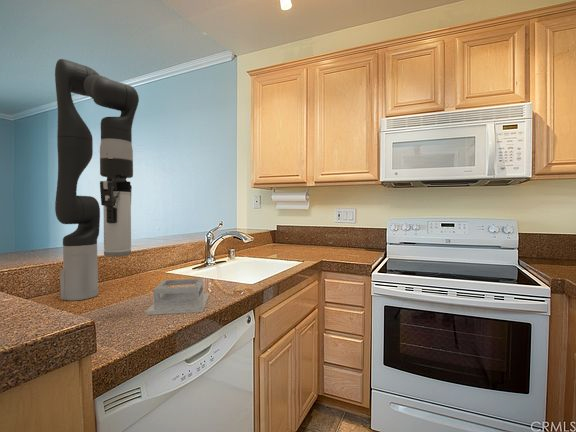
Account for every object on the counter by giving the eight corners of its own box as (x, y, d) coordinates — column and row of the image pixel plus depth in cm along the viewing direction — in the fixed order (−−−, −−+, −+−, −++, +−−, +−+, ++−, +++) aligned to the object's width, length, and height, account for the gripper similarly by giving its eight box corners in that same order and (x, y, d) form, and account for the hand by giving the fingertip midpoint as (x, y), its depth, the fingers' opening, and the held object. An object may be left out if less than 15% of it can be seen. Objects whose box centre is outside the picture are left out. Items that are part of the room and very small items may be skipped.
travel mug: (136, 253, 82) (135, 180, 81) (123, 256, 75) (123, 178, 75) (113, 253, 82) (112, 180, 81) (98, 256, 75) (97, 178, 74)
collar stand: (145, 315, 80) (145, 291, 80) (160, 298, 95) (160, 278, 95) (202, 311, 82) (202, 288, 82) (208, 296, 97) (208, 276, 97)
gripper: (113, 162, 84) (113, 221, 84) (86, 153, 70) (88, 224, 70) (141, 163, 85) (141, 221, 86) (121, 154, 71) (121, 223, 71)
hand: (117, 222), depth 78 cm, fingers closed on travel mug, 6 cm apart
